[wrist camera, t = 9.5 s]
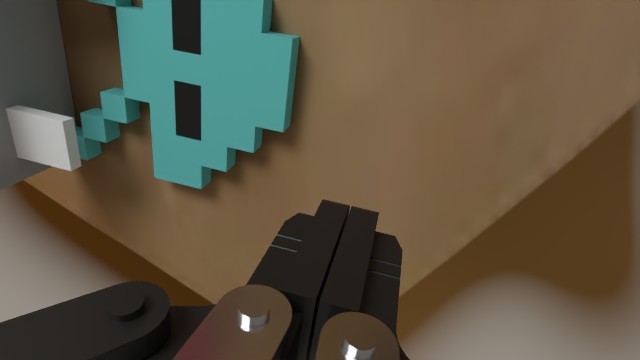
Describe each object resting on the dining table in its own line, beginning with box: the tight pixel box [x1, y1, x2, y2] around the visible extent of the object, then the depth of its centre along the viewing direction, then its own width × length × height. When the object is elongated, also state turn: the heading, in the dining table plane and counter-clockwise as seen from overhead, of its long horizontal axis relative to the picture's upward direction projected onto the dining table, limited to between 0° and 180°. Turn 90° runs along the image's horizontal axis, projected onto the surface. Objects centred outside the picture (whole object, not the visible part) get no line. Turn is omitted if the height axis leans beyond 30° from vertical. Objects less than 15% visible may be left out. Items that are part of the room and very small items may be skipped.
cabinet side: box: [0, 0, 81, 190], centre depth 25 cm, size 6×22×12 cm, turn 172°
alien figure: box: [75, 0, 300, 189], centre depth 29 cm, size 20×2×20 cm
